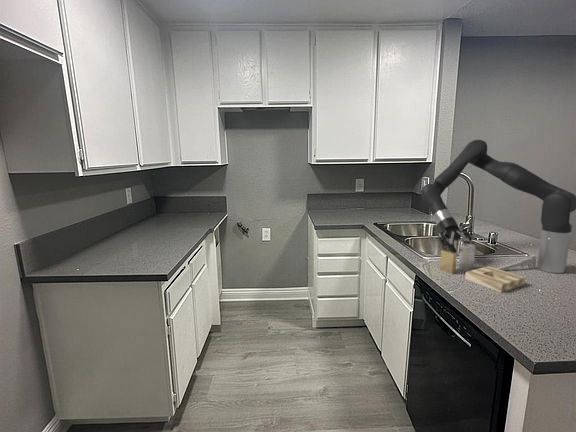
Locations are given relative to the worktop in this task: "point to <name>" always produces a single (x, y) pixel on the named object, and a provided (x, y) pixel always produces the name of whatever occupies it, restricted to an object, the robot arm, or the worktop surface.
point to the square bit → (466, 257)
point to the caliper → (521, 263)
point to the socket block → (495, 278)
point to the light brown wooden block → (448, 261)
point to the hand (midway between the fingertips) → (463, 251)
